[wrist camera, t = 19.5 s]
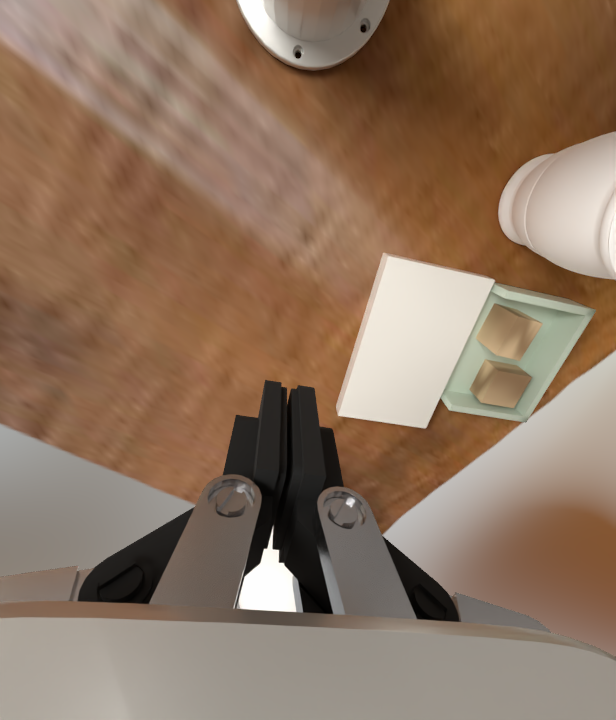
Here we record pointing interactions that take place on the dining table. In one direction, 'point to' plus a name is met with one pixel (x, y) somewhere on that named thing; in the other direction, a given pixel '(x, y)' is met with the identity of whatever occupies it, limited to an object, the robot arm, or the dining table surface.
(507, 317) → the tan faceted block
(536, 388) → the tray
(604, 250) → the jar
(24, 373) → the dining table surface
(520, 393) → the tan block
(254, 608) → the alcohol
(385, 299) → the board
